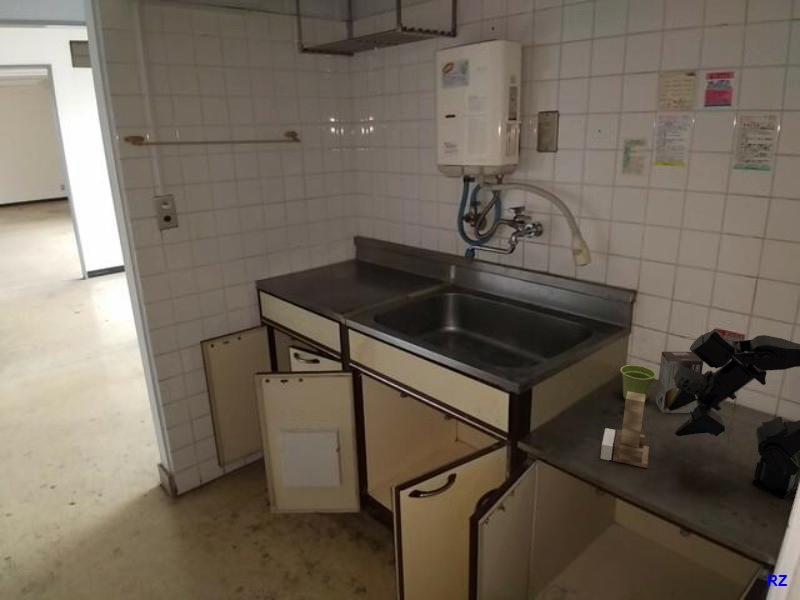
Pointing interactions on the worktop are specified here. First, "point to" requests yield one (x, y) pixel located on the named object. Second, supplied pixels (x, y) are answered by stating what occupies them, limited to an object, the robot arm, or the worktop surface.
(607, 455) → the white rectangular block
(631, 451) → the walnut cradle
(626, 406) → the oak peg
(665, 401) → the coffee box
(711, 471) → the worktop surface
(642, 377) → the plant pot
